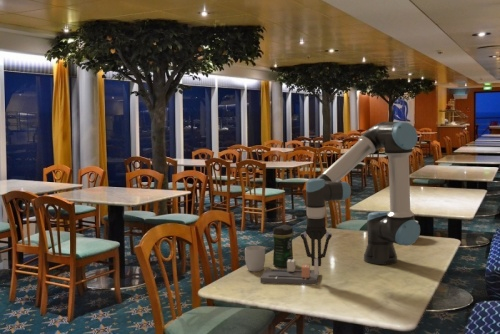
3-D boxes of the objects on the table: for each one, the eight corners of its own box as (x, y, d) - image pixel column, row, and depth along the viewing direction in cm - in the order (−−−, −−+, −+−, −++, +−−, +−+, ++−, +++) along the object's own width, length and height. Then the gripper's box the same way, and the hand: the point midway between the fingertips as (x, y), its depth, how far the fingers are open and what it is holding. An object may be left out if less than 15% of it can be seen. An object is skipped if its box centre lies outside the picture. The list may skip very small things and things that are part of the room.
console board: (318, 274, 237) (318, 269, 237) (316, 284, 223) (316, 279, 222) (266, 272, 242) (265, 267, 241) (260, 283, 227) (260, 277, 227)
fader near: (309, 274, 228) (309, 264, 228) (309, 277, 224) (309, 267, 224) (302, 274, 229) (302, 264, 228) (301, 277, 225) (301, 267, 225)
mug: (259, 273, 241) (259, 251, 240) (241, 271, 245) (241, 249, 244) (272, 266, 252) (271, 244, 251) (255, 264, 256) (254, 243, 255)
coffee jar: (285, 269, 247) (285, 228, 245) (270, 266, 251) (269, 226, 250) (296, 263, 255) (295, 224, 253) (281, 261, 259) (280, 222, 258)
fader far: (295, 269, 237) (295, 259, 237) (294, 271, 234) (294, 261, 233) (288, 268, 238) (288, 259, 238) (287, 271, 234) (286, 261, 234)
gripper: (332, 215, 226) (332, 271, 228) (300, 215, 228) (301, 270, 231) (331, 218, 219) (332, 276, 221) (299, 218, 221) (299, 275, 223)
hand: (316, 273), depth 226 cm, fingers closed
